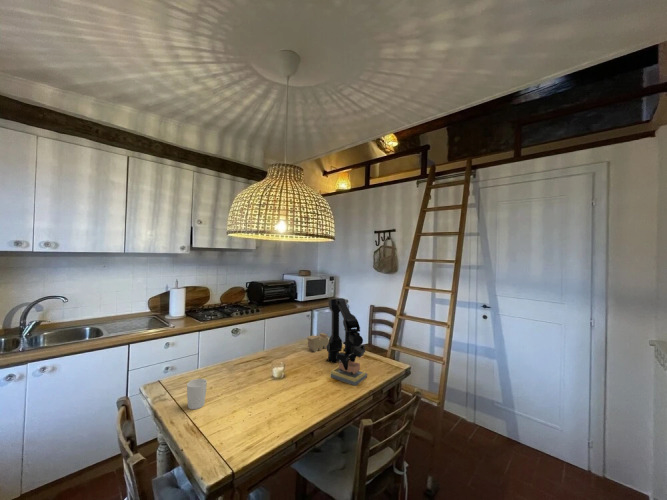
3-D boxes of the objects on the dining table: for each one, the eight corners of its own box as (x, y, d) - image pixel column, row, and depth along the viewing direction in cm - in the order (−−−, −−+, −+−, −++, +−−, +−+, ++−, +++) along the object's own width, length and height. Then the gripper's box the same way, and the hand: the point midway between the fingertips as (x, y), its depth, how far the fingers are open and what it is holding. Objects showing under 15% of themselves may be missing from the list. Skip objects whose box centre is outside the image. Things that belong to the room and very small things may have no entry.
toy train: (329, 347, 202) (329, 333, 202) (312, 353, 190) (312, 338, 190) (324, 345, 206) (324, 332, 206) (306, 351, 194) (307, 336, 194)
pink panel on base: (338, 370, 156) (339, 361, 156) (344, 366, 161) (344, 357, 161) (354, 375, 150) (354, 365, 150) (359, 371, 155) (359, 362, 155)
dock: (330, 377, 155) (330, 370, 155) (343, 369, 166) (343, 363, 166) (355, 385, 146) (355, 379, 146) (367, 377, 157) (367, 370, 157)
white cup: (192, 400, 127) (193, 378, 127) (209, 400, 127) (210, 379, 127) (182, 409, 120) (183, 386, 120) (200, 410, 119) (201, 387, 119)
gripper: (354, 348, 144) (353, 378, 144) (370, 339, 159) (369, 366, 159) (336, 343, 150) (335, 372, 150) (353, 335, 165) (352, 361, 165)
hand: (349, 368), depth 156 cm, fingers closed on pink panel on base, 6 cm apart
